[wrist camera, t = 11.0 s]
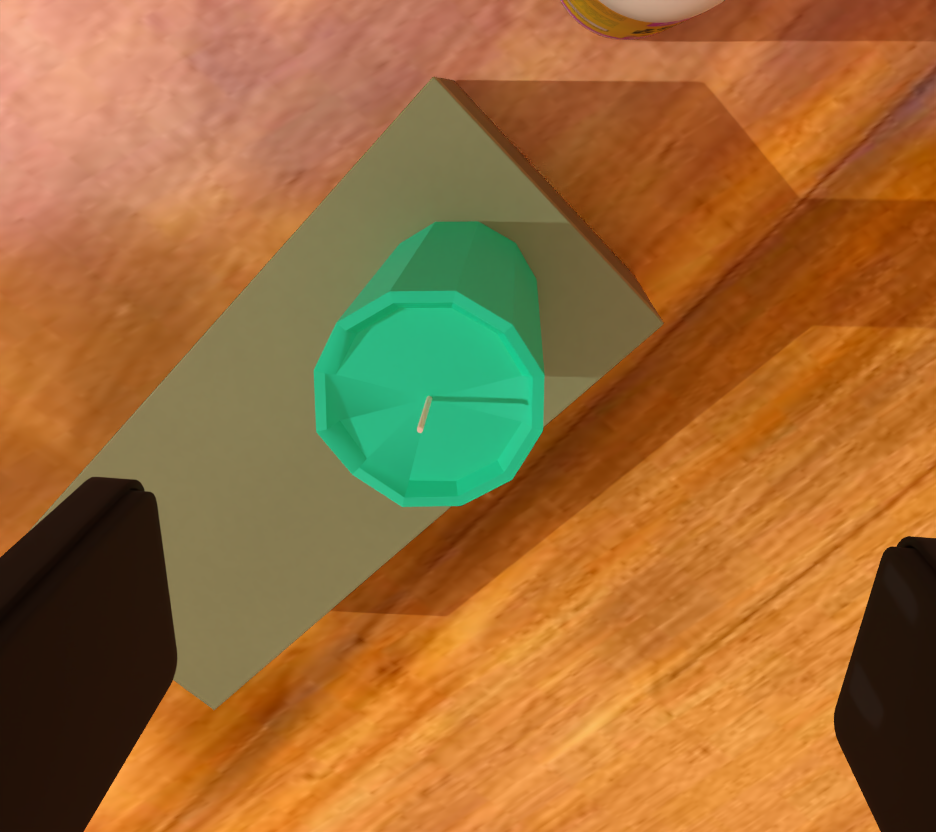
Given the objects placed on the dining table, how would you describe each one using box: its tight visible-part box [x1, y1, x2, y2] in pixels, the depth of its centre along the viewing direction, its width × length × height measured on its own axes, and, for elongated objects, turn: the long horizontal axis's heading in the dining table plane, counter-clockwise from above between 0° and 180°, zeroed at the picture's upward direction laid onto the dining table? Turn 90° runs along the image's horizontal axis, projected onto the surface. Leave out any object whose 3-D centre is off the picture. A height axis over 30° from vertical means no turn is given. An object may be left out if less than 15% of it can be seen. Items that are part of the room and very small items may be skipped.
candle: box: [314, 221, 545, 507], centre depth 23 cm, size 6×6×12 cm
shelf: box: [30, 77, 664, 710], centre depth 35 cm, size 28×12×8 cm, turn 135°
